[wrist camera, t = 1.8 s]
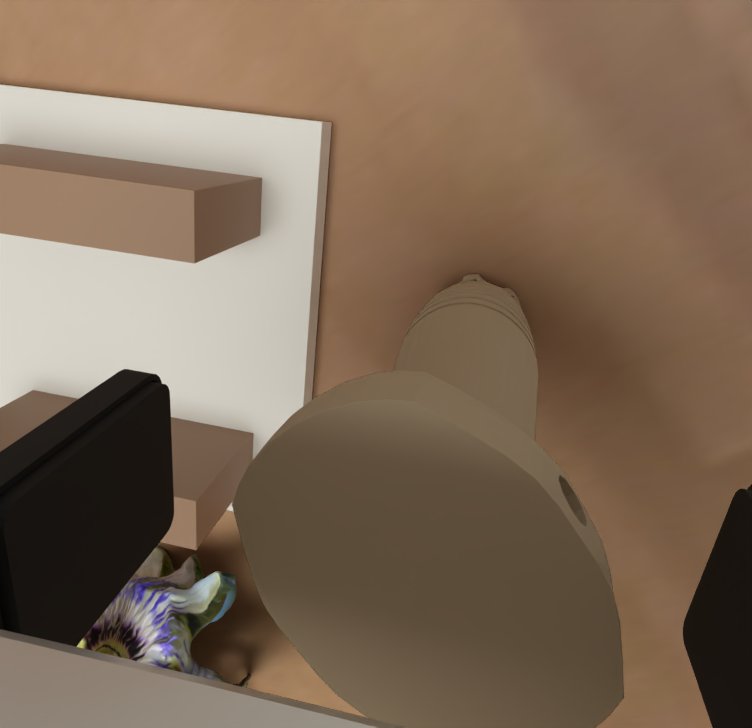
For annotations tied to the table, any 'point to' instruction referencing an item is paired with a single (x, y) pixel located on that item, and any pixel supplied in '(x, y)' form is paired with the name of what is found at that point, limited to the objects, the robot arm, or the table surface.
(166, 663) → the passion flower
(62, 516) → the robot arm
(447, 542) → the handle
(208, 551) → the table surface
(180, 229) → the white base with blocks
